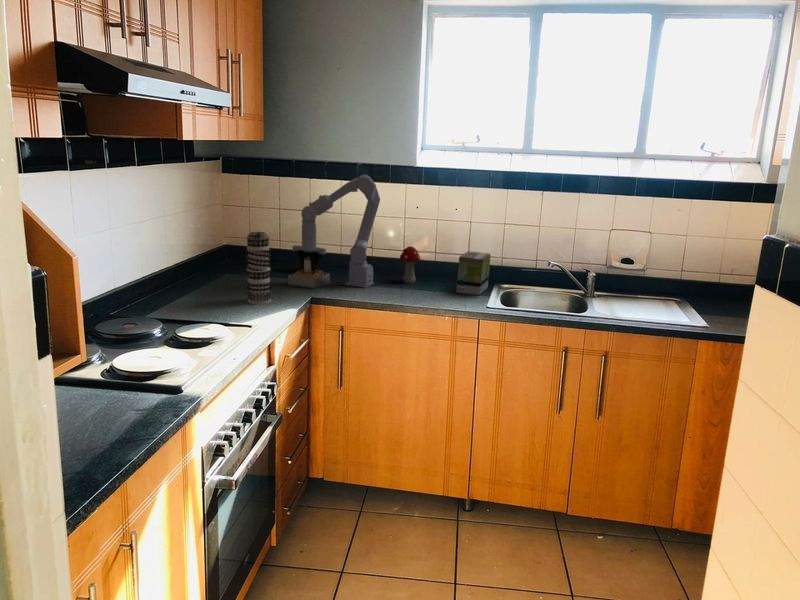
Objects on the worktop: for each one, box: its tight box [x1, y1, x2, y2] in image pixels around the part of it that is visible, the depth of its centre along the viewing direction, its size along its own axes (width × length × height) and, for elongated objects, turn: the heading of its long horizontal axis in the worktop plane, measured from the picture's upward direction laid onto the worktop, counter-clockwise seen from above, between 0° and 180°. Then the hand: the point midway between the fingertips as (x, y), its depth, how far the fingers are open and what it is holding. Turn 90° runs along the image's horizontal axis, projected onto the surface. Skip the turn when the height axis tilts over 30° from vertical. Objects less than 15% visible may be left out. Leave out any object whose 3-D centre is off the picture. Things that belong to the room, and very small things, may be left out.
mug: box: [297, 251, 324, 271], centre depth 292 cm, size 8×12×10 cm
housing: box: [287, 269, 331, 289], centre depth 267 cm, size 12×12×5 cm
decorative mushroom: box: [399, 245, 421, 284], centre depth 276 cm, size 10×9×15 cm
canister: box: [304, 257, 313, 274], centre depth 266 cm, size 4×4×7 cm
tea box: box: [456, 250, 491, 296], centre depth 265 cm, size 15×10×15 cm, turn 161°
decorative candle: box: [244, 231, 272, 305], centre depth 237 cm, size 9×9×25 cm
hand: (309, 269), depth 267 cm, fingers closed on canister, 3 cm apart
